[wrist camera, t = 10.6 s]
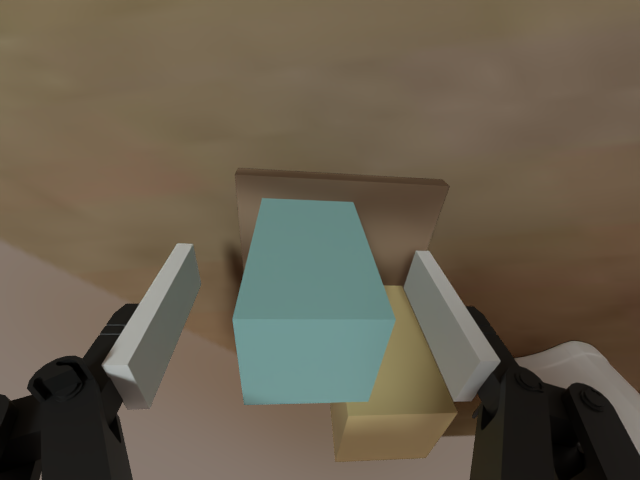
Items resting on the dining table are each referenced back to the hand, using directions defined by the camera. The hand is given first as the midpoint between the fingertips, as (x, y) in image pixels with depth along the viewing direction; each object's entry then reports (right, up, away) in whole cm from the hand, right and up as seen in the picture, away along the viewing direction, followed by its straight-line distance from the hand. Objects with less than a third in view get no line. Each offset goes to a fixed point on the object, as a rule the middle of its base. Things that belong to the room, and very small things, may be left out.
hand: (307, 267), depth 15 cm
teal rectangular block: (0, +2, +2) cm, 3 cm away
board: (+2, 0, +5) cm, 5 cm away
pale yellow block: (+4, -4, +6) cm, 8 cm away
